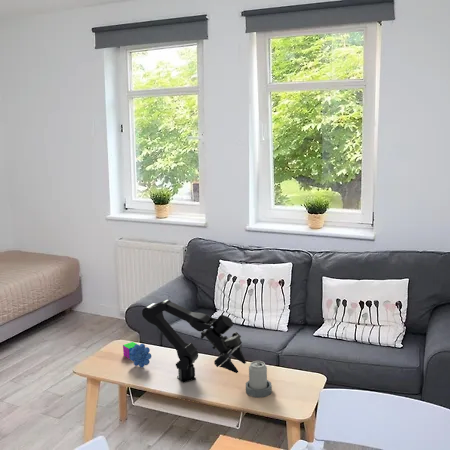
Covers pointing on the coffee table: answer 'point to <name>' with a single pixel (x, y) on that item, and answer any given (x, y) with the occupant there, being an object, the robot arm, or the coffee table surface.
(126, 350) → the puzzle toy
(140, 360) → the grapes
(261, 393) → the ring holder
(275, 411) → the coffee table surface
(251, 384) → the can
